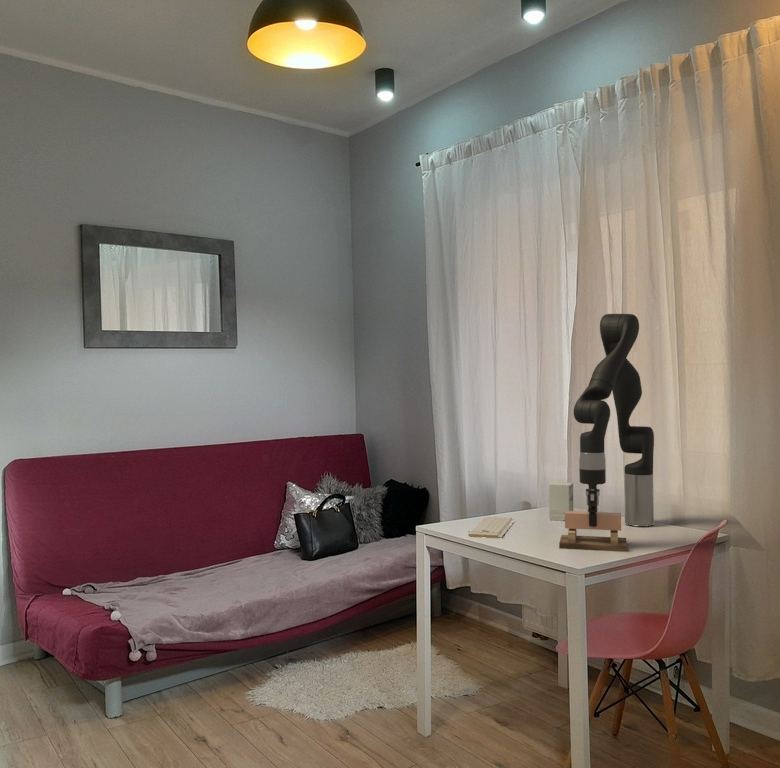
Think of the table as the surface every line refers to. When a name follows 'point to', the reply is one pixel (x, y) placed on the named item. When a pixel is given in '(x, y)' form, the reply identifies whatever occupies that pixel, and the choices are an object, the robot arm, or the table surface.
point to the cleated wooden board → (593, 542)
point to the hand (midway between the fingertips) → (593, 524)
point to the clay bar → (603, 520)
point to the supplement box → (560, 500)
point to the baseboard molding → (491, 527)
